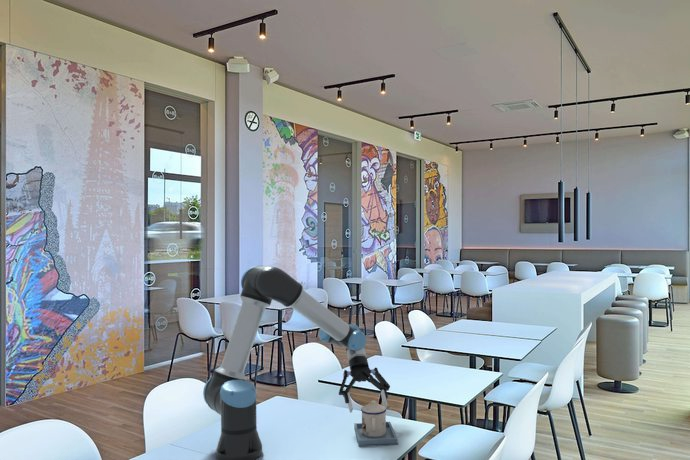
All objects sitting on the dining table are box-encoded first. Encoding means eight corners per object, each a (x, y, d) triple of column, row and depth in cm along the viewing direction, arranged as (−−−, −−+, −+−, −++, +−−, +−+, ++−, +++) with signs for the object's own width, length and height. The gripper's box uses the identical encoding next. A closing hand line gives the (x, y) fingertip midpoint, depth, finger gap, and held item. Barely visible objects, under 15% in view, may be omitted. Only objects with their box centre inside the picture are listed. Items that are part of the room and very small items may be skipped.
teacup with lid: (361, 428, 192) (361, 397, 192) (386, 428, 192) (385, 396, 192) (360, 441, 180) (360, 407, 180) (387, 441, 180) (386, 407, 180)
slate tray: (358, 446, 177) (358, 440, 177) (354, 428, 194) (354, 423, 194) (397, 444, 178) (397, 438, 178) (390, 426, 195) (390, 421, 195)
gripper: (385, 362, 214) (398, 410, 200) (326, 367, 208) (335, 417, 194) (388, 352, 209) (402, 400, 194) (328, 357, 203) (338, 407, 188)
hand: (368, 409), depth 194 cm, fingers open, 13 cm apart
